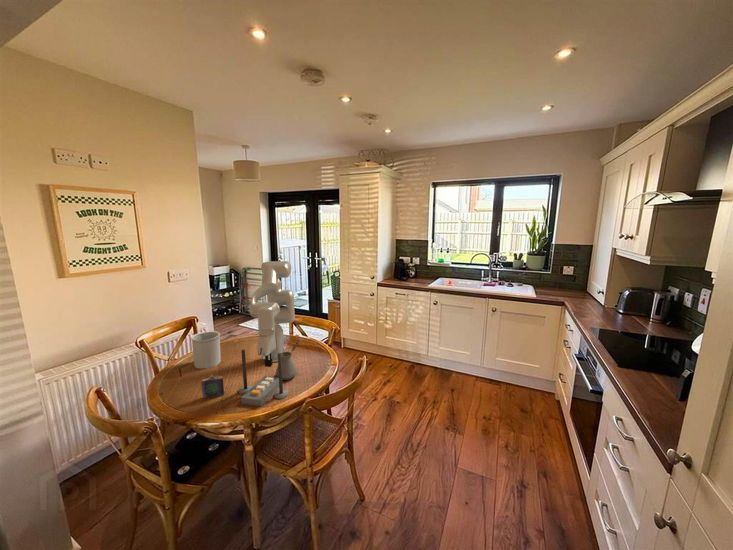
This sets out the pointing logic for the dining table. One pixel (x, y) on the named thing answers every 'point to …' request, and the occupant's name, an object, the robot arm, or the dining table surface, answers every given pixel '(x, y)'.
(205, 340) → the utensil holder
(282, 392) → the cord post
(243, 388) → the post
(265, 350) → the robot arm
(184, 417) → the dining table surface
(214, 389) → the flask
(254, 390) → the breaker strip
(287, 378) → the coffee pot
